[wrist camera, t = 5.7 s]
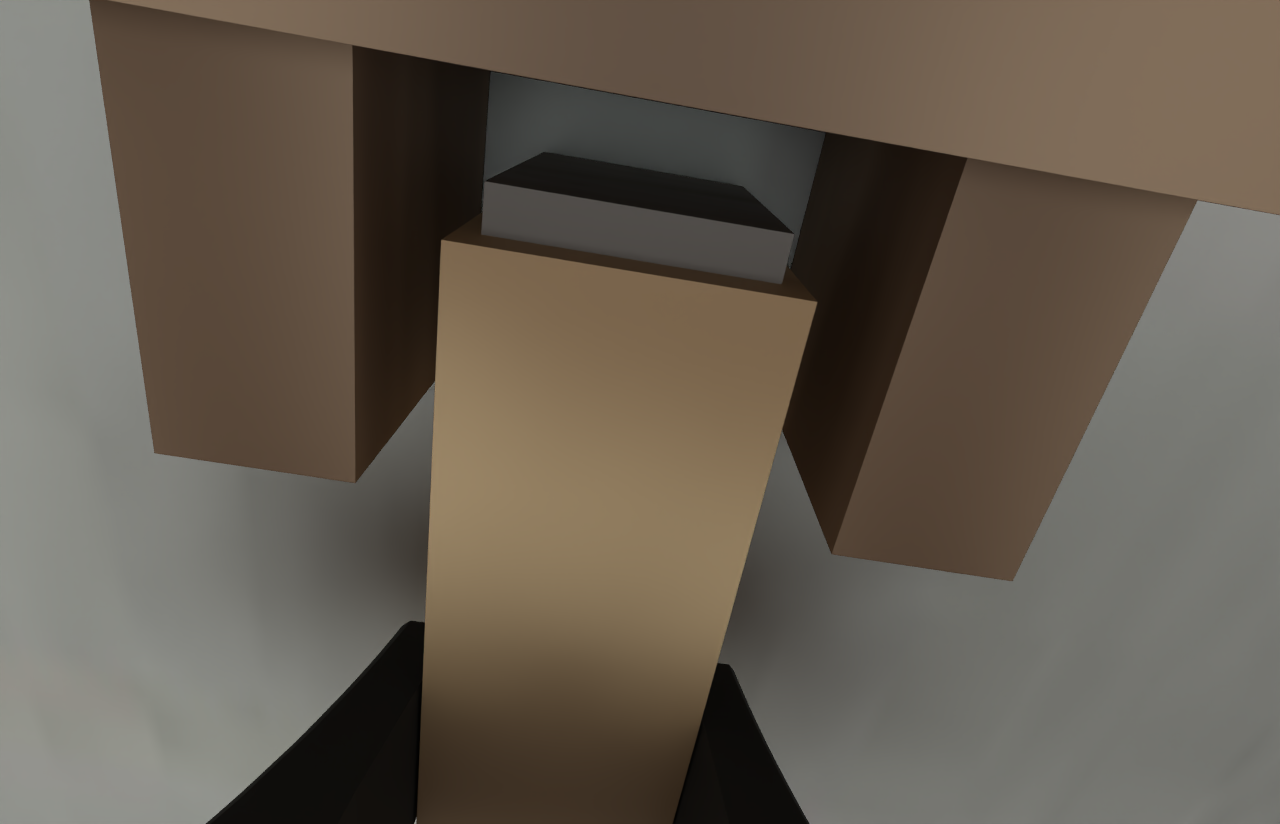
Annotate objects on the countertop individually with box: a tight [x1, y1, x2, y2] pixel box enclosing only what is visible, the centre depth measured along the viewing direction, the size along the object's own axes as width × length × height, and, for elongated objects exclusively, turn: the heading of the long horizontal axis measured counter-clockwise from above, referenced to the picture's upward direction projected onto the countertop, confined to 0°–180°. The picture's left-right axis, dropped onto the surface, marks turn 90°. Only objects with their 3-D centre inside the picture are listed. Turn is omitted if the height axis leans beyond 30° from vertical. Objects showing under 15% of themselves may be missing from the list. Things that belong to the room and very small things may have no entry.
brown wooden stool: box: [89, 0, 1280, 581], centre depth 8 cm, size 11×5×6 cm, turn 81°
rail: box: [417, 152, 817, 824], centre depth 11 cm, size 14×4×5 cm, turn 171°
